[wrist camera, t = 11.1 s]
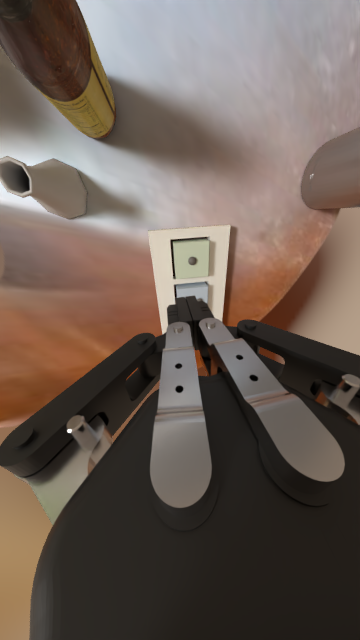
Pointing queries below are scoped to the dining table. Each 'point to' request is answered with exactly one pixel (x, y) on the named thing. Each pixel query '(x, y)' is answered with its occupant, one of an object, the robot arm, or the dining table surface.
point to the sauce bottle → (59, 60)
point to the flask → (46, 185)
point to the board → (214, 280)
